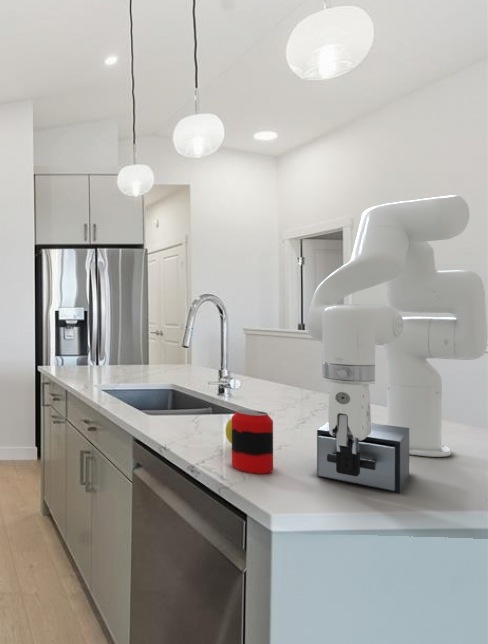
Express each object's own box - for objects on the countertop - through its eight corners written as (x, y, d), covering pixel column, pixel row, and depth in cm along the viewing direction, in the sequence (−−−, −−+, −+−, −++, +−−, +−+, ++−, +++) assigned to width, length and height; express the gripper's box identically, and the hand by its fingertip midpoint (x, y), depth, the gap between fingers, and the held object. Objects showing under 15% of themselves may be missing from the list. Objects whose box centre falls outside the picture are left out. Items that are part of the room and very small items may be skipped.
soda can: (280, 475, 103) (279, 417, 103) (240, 473, 104) (240, 416, 104) (263, 463, 110) (263, 409, 110) (226, 462, 111) (226, 408, 111)
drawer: (390, 496, 88) (390, 453, 88) (312, 480, 97) (312, 440, 97) (403, 473, 100) (403, 434, 100) (332, 460, 109) (332, 425, 109)
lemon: (255, 452, 118) (255, 418, 118) (230, 451, 120) (230, 418, 119) (246, 445, 124) (246, 413, 124) (222, 444, 125) (222, 413, 125)
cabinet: (400, 493, 92) (400, 441, 92) (317, 476, 102) (317, 429, 102) (409, 474, 102) (409, 427, 102) (332, 460, 112) (332, 418, 111)
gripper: (367, 379, 83) (367, 489, 84) (381, 371, 93) (381, 469, 94) (313, 375, 89) (313, 478, 89) (331, 368, 99) (331, 460, 99)
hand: (348, 473), depth 91 cm, fingers closed
